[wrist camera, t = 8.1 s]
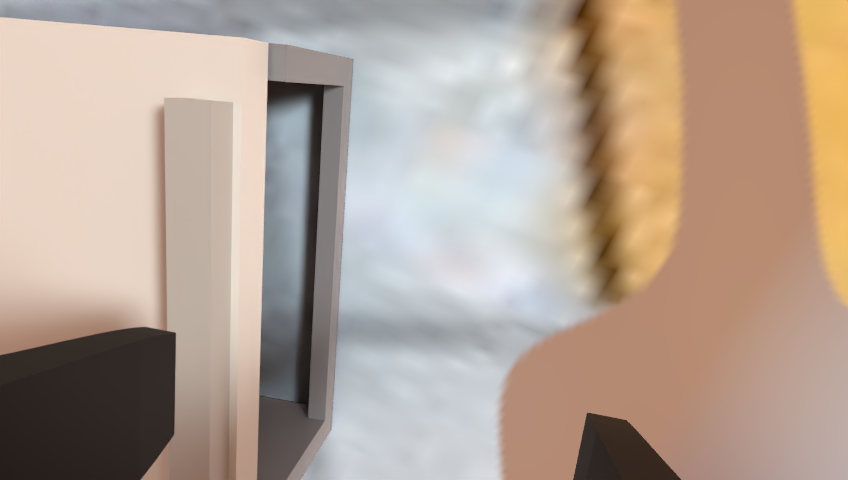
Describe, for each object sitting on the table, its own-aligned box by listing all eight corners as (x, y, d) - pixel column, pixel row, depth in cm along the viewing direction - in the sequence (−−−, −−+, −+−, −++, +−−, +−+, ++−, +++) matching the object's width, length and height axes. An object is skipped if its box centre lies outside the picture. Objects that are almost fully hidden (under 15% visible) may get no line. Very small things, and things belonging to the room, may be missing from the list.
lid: (255, 526, 16) (216, 586, 14) (-135, 443, 18) (-218, 486, 16) (268, 43, 13) (221, 33, 11) (-201, 3, 15) (-313, -12, 13)
